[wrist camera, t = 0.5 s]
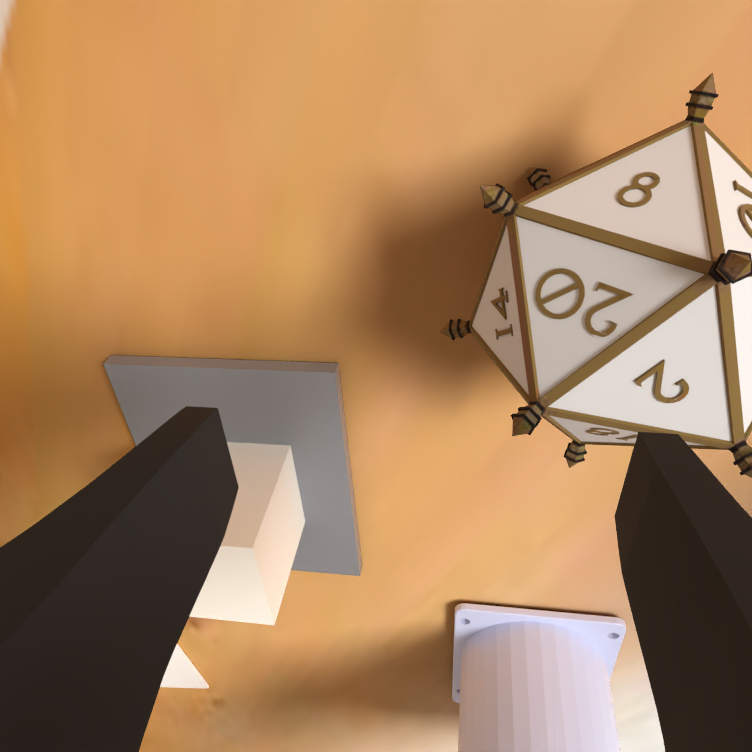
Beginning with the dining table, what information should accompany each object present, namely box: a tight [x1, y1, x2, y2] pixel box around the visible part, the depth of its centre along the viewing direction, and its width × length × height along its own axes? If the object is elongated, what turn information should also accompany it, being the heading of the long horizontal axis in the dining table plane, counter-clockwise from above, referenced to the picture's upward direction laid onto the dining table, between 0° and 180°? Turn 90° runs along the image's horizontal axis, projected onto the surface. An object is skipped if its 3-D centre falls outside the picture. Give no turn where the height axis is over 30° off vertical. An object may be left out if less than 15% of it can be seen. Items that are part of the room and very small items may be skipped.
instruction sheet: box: [160, 644, 209, 688], centre depth 37 cm, size 10×7×1 cm
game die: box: [440, 73, 752, 477], centre depth 15 cm, size 9×8×10 cm
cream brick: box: [190, 442, 305, 625], centre depth 24 cm, size 5×5×5 cm
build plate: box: [103, 355, 362, 576], centre depth 26 cm, size 12×9×1 cm
